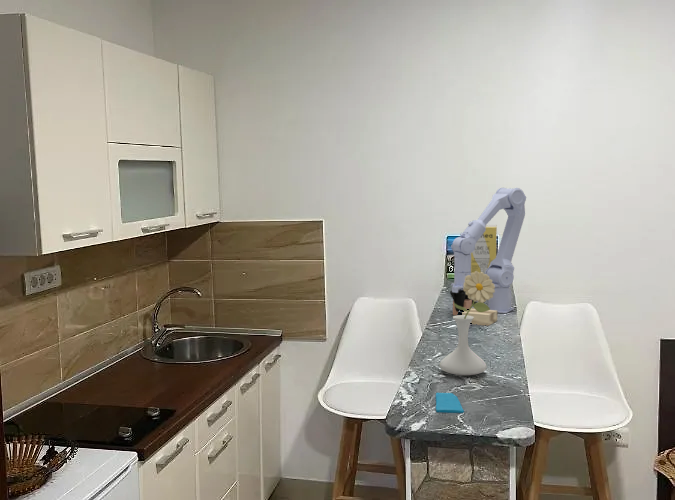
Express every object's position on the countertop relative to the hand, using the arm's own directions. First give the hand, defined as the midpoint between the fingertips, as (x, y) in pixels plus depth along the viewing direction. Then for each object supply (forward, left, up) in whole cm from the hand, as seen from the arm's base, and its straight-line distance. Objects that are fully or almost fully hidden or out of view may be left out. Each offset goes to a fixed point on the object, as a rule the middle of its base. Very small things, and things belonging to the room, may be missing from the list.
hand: (462, 310), depth 248 cm
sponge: (+95, +35, -2) cm, 101 cm away
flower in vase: (+71, +29, -2) cm, 77 cm away
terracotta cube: (0, 0, -1) cm, 1 cm away
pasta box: (-45, -9, -2) cm, 46 cm away
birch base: (+10, +10, -1) cm, 14 cm away
